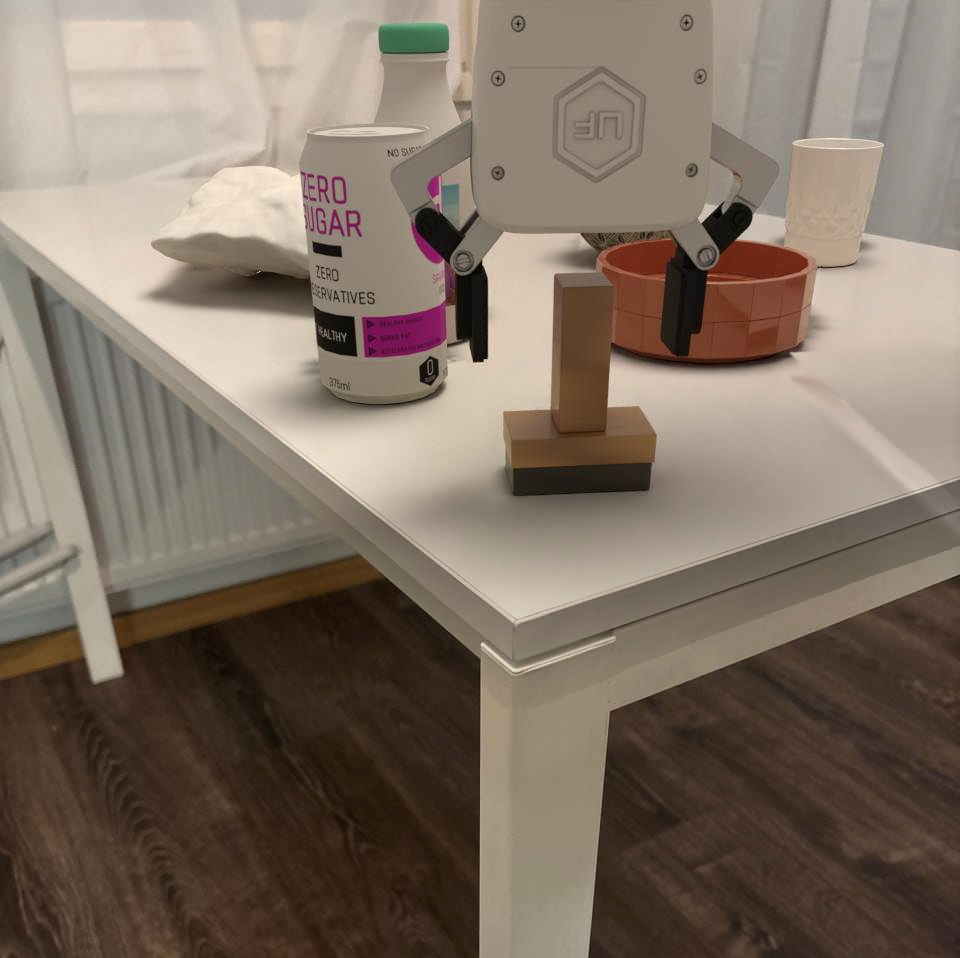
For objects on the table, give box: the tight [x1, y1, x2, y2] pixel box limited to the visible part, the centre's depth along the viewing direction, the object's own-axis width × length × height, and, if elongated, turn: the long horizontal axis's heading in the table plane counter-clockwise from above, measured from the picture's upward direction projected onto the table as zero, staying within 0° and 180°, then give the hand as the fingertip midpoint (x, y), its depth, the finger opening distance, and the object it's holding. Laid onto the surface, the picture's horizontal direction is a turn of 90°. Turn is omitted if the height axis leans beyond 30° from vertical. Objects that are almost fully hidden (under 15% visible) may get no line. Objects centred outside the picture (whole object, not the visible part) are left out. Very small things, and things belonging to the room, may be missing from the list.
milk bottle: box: [373, 22, 476, 345], centre depth 71 cm, size 8×8×20 cm
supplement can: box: [298, 122, 449, 405], centre depth 62 cm, size 8×8×15 cm
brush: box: [502, 271, 658, 496], centre depth 50 cm, size 7×4×10 cm, turn 94°
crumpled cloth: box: [150, 165, 311, 280], centre depth 91 cm, size 24×35×9 cm
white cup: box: [783, 137, 885, 268], centre depth 93 cm, size 8×8×10 cm
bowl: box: [595, 238, 818, 364], centre depth 73 cm, size 15×15×6 cm
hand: (576, 351), depth 49 cm, fingers open, 9 cm apart
